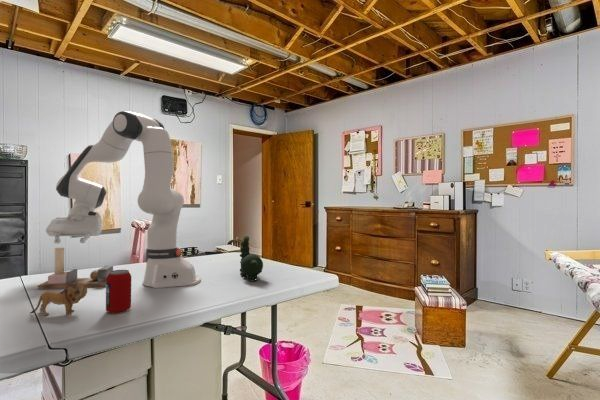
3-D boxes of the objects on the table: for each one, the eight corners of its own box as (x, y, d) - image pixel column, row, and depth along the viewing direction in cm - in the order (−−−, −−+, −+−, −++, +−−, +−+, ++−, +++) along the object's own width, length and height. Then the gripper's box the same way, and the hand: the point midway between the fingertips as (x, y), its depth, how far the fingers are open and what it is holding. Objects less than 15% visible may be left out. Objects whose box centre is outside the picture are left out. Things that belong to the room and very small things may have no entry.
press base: (116, 280, 139) (116, 265, 139) (108, 286, 130) (108, 269, 130) (51, 282, 134) (51, 266, 134) (37, 289, 124) (37, 271, 124)
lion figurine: (89, 308, 103) (90, 279, 103) (83, 314, 98) (83, 284, 98) (34, 312, 99) (34, 282, 99) (24, 318, 94) (25, 286, 94)
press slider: (77, 278, 135) (78, 246, 135) (68, 283, 127) (69, 249, 128) (58, 279, 134) (58, 246, 134) (47, 284, 126) (48, 249, 126)
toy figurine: (234, 276, 156) (244, 284, 133) (234, 236, 158) (244, 236, 135) (254, 275, 160) (267, 282, 136) (254, 235, 161) (266, 236, 138)
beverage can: (112, 307, 104) (112, 269, 104) (134, 307, 105) (135, 269, 105) (101, 314, 97) (101, 273, 98) (125, 314, 98) (125, 273, 98)
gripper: (50, 213, 144) (37, 238, 134) (102, 213, 148) (94, 237, 139) (55, 222, 148) (43, 247, 138) (106, 222, 153) (98, 246, 143)
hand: (69, 242), depth 139 cm, fingers open, 8 cm apart
